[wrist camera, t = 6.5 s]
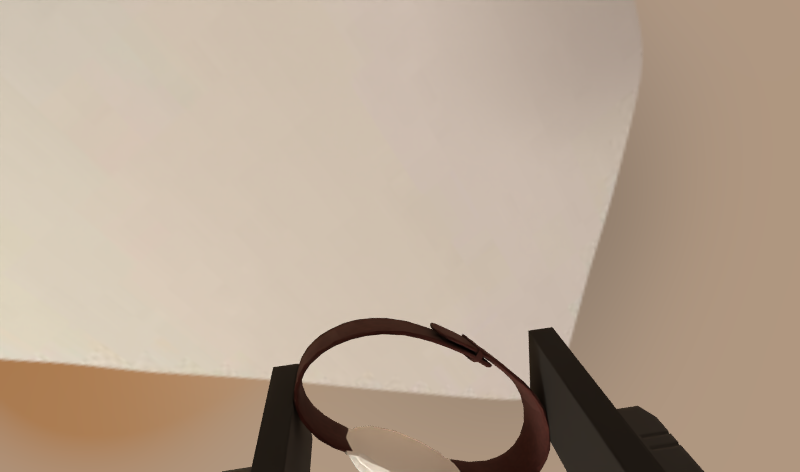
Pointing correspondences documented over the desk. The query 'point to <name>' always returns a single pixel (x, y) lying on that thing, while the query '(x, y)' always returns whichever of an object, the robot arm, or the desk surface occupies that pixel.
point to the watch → (402, 455)
